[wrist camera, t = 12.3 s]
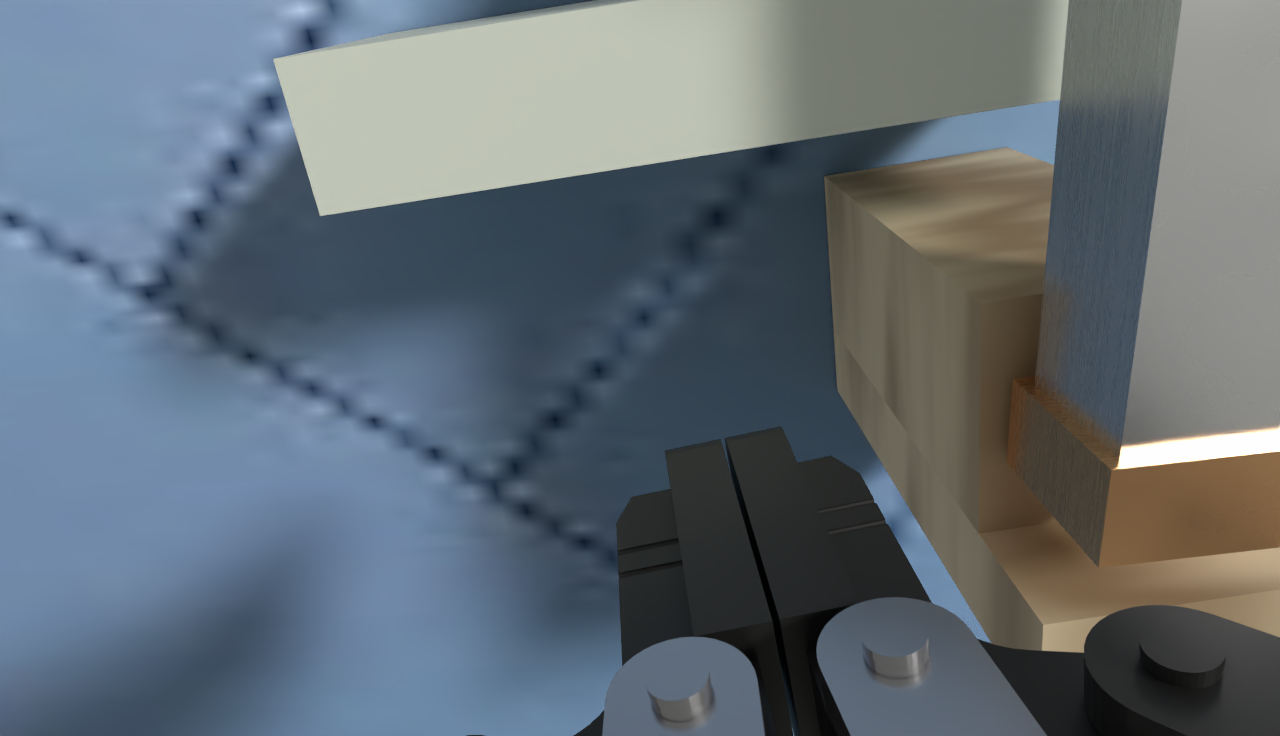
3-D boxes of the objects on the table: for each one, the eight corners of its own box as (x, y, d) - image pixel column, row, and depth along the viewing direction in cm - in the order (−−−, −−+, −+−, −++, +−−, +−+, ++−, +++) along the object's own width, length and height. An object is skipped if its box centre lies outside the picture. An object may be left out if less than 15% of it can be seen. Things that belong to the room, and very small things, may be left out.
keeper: (1007, 147, 24) (1424, 307, 12) (1002, 365, 26) (1340, 675, 14) (824, 175, 24) (1056, 363, 12) (837, 390, 26) (1038, 719, 14)
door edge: (1031, -70, 22) (1302, -106, 13) (1028, 37, 23) (1278, 64, 14) (393, 32, 22) (273, 59, 14) (418, 133, 23) (320, 216, 15)
